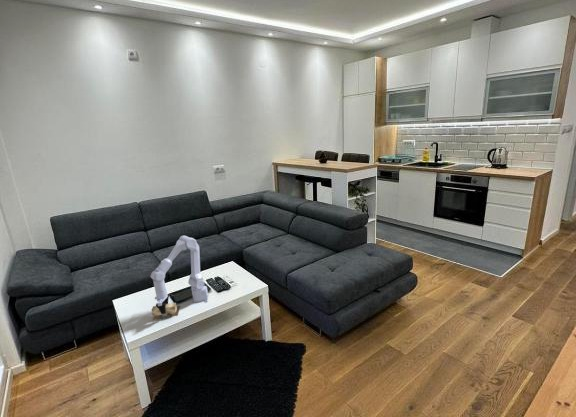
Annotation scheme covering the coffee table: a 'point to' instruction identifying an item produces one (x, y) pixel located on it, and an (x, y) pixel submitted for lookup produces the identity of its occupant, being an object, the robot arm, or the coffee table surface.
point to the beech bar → (169, 309)
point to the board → (170, 315)
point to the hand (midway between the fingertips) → (164, 310)
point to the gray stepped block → (165, 315)
